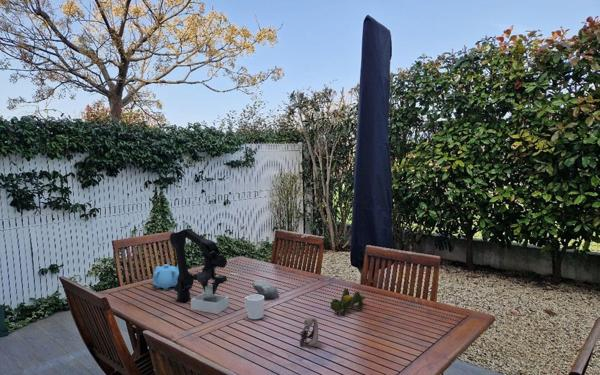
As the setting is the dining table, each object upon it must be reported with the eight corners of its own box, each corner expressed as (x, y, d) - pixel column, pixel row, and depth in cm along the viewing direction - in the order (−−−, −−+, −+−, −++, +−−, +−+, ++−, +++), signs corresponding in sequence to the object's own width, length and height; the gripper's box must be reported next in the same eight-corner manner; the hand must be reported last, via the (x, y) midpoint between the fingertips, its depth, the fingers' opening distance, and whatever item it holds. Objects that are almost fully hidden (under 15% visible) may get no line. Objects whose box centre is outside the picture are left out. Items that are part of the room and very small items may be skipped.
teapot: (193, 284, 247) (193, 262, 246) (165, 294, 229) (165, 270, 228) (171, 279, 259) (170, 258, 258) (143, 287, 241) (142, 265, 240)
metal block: (203, 307, 205) (203, 297, 205) (208, 303, 210) (208, 294, 210) (211, 308, 204) (210, 299, 203) (216, 305, 208) (216, 296, 208)
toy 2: (369, 306, 209) (370, 288, 209) (342, 319, 192) (342, 299, 191) (354, 301, 217) (354, 284, 216) (326, 313, 199) (326, 294, 198)
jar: (203, 296, 205) (203, 287, 205) (208, 293, 210) (208, 284, 209) (210, 297, 203) (210, 288, 203) (216, 294, 208) (216, 285, 207)
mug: (267, 314, 197) (267, 295, 196) (259, 321, 189) (259, 301, 188) (248, 312, 201) (247, 293, 200) (240, 318, 192) (239, 298, 192)
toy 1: (296, 339, 168) (305, 309, 168) (313, 343, 169) (322, 314, 169) (297, 348, 160) (307, 316, 159) (315, 352, 161) (325, 321, 160)
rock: (270, 305, 217) (268, 289, 214) (250, 296, 227) (247, 281, 225) (282, 296, 225) (281, 280, 222) (262, 288, 235) (260, 273, 233)
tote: (190, 309, 205) (190, 299, 205) (203, 302, 215) (203, 292, 215) (217, 313, 198) (217, 303, 198) (229, 306, 209) (228, 296, 208)
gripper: (185, 267, 202) (186, 295, 203) (215, 270, 194) (215, 300, 195) (198, 262, 212) (199, 289, 213) (227, 265, 205) (227, 293, 206)
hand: (209, 293), depth 206 cm, fingers closed on jar, 5 cm apart
